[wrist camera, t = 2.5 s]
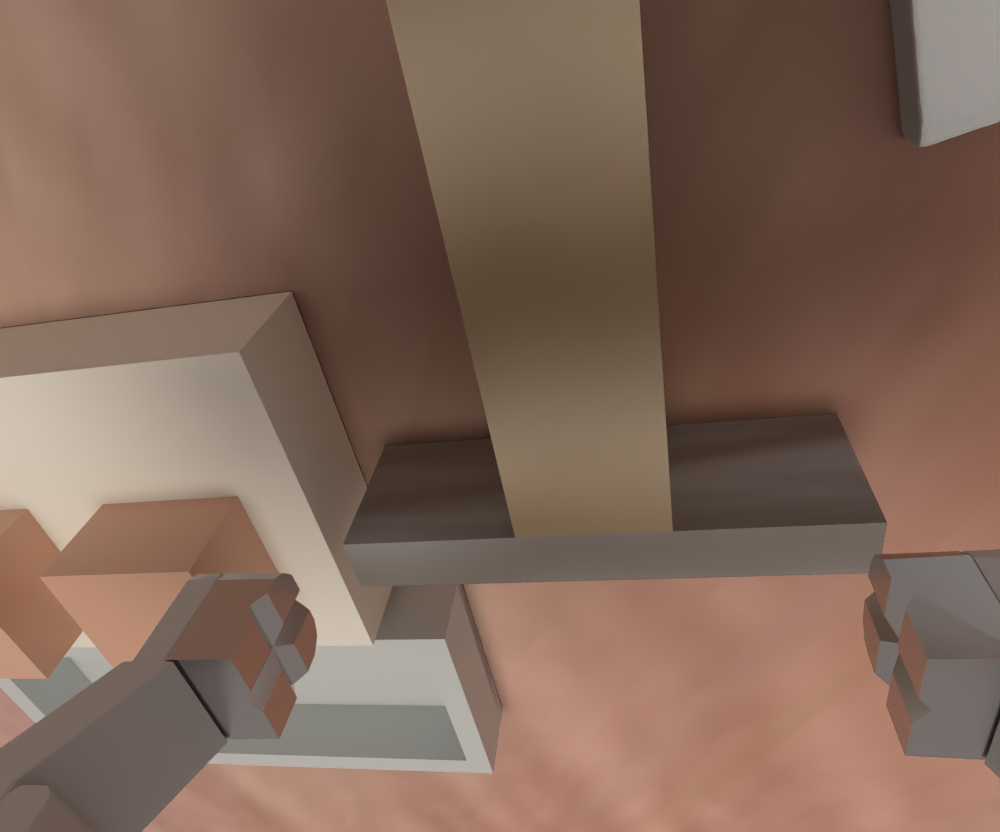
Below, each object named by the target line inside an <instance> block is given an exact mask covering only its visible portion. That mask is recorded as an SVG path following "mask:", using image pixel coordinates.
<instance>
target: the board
mask: <svg viewBox="0 0 1000 832" xmlns="http://www.w3.org/2000/svg"><path fill="white" fill-rule="evenodd" d="M366 489H367V486H366V483H365V480H364V478H363V475H362V473H361V470H360V467H359V465H358V462H357V460H356V457H355V455H354V452H353V449H352V447H351V444H350V442H349V439H348V436H347V434H346V431H345V429H344V426H343V423H342V421H341V418H340V416H339V413H338V411H337V408H336V405H335V403H334V400H333V398H332V395H331V392H330V390H329V387H328V385H327V382H326V379H325V377H324V374H323V372H322V369H321V366H320V364H319V361H318V359H317V356H316V354H315V351H314V348H313V346H312V343H311V341H310V338H309V335H308V333H307V330H306V328H305V325H304V322H303V320H302V317H301V315H300V312H299V310H298V307H297V304H296V302H295V299H294V297H293V294H292V292H284V293H276V294H268V295H260V296H253V297H245V298H237V299H229V300H221V301H213V302H205V303H198V304H190V305H182V306H174V307H166V308H158V309H150V310H143V311H135V312H127V313H119V314H111V315H103V316H96V317H88V318H80V319H72V320H64V321H56V322H48V323H41V324H33V325H25V326H17V327H9V328H1V329H0V510H13V509H28V510H29V511H30V513H31V514H32V515H33V517H34V518H35V519H36V521H37V522H38V523H39V524H40V526H41V527H42V528H43V530H44V531H45V532H46V534H47V535H48V536H49V538H50V539H51V540H52V541H53V543H54V544H55V545H56V547H57V548H58V549H59V551H60V552H61V551H62V550H63V549H64V548H65V547H66V545H67V544H68V543H69V542H70V541H71V540H72V539H73V537H74V536H75V535H76V534H77V533H78V532H79V531H80V529H81V528H82V527H83V526H84V525H85V524H86V523H87V521H88V520H89V519H90V518H91V517H92V516H93V515H94V513H95V512H96V511H97V510H98V509H99V508H100V507H101V505H102V504H115V503H132V502H149V501H166V500H183V499H200V498H217V497H234V496H238V497H239V499H240V501H241V503H242V505H243V507H244V509H245V511H246V513H247V514H248V516H249V518H250V520H251V522H252V524H253V526H254V528H255V530H256V531H257V533H258V535H259V537H260V539H261V541H262V543H263V545H264V547H265V548H266V550H267V552H268V554H269V556H270V558H271V560H272V562H273V564H274V565H275V567H276V569H277V571H278V573H285V574H291V575H292V576H293V578H294V580H295V582H296V583H297V585H298V587H299V589H300V591H299V593H298V596H297V598H296V600H297V601H298V602H299V603H301V604H302V605H304V606H305V607H306V608H308V609H309V610H310V612H311V614H312V616H313V618H314V620H315V625H316V631H317V642H316V646H369V645H373V644H374V641H375V638H376V635H377V632H378V629H379V626H380V623H381V620H382V617H383V614H384V611H385V608H386V605H387V602H388V599H389V596H390V593H391V590H392V587H393V586H370V587H361V585H360V583H359V581H358V579H357V576H356V574H355V572H354V570H353V567H352V565H351V563H350V560H349V558H348V556H347V554H346V551H345V549H344V547H343V543H344V540H345V538H346V536H347V533H348V531H349V529H350V526H351V524H352V522H353V520H354V517H355V515H356V513H357V510H358V508H359V506H360V503H361V501H362V499H363V496H364V494H365V492H366ZM76 647H96V646H95V645H94V644H93V642H92V641H91V640H90V639H89V638H88V636H87V635H86V634H85V633H84V631H83V632H82V633H81V634H80V636H79V637H78V638H77V640H76V641H75V642H74V644H73V645H72V647H71V648H76Z"/></svg>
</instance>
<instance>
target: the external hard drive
mask: <svg viewBox="0 0 1000 832" xmlns="http://www.w3.org/2000/svg"><path fill="white" fill-rule="evenodd" d="M890 11H891V21H892V31H893V42H894V53H895V64H896V74H897V85H898V96H899V107H900V120H901V127H902V134H903V135H904V137H905V139H907V140H909V141H911V142H913V143H914V144H916V145H917V146H918V147H926V146H930V145H933V144H936V143H939V142H941V141H944V140H947V139H950V138H953V137H956V136H959V135H962V134H965V133H967V132H970V131H973V130H976V129H979V128H982V127H986V126H989V125H992V124H995V123H998V122H1000V0H890Z"/></svg>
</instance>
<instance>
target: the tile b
mask: <svg viewBox="0 0 1000 832" xmlns="http://www.w3.org/2000/svg"><path fill="white" fill-rule="evenodd" d="M226 573H278V571H277V569H276V567H275V565H274V564H273V562H272V560H271V558H270V556H269V554H268V552H267V550H266V548H265V547H264V545H263V543H262V541H261V539H260V537H259V535H258V533H257V531H256V530H255V528H254V526H253V524H252V522H251V520H250V518H249V516H248V514H247V513H246V511H245V509H244V507H243V505H242V503H241V501H240V499H239V497H238V496H234V497H217V498H200V499H183V500H166V501H149V502H132V503H115V504H102V505H101V507H100V508H99V509H98V510H97V511H96V512H95V513H94V515H93V516H92V517H91V518H90V519H89V520H88V521H87V523H86V524H85V525H84V526H83V527H82V528H81V529H80V531H79V532H78V533H77V534H76V535H75V536H74V537H73V539H72V540H71V541H70V542H69V543H68V544H67V545H66V547H65V548H64V549H63V550H62V551H61V552H60V553H59V555H58V556H57V557H56V558H55V559H54V560H53V561H52V563H51V564H50V565H49V566H48V567H47V568H46V569H45V570H44V572H43V573H42V574H41V575H40V576H39V577H40V579H41V580H42V581H43V582H44V584H45V585H46V586H47V587H48V588H49V590H50V591H51V592H52V593H53V595H54V596H55V597H56V598H57V599H58V601H59V602H60V603H61V604H62V606H63V607H64V608H65V609H66V611H67V612H68V613H69V614H70V615H71V617H72V618H73V619H74V620H75V622H76V623H77V624H78V625H79V627H80V628H81V629H82V630H83V631H84V633H85V634H86V635H87V636H88V638H89V639H90V640H91V641H92V642H93V644H94V645H95V646H96V647H97V649H98V650H99V651H100V652H101V654H102V655H103V656H104V657H105V658H106V660H107V661H108V662H109V663H110V665H111V666H112V667H113V668H115V667H116V666H118V665H119V664H120V663H122V662H124V661H133V660H134V658H135V657H136V655H137V654H138V652H139V651H140V649H141V648H142V646H143V645H144V643H145V642H146V641H147V639H148V638H149V636H150V635H151V633H152V632H153V630H154V629H155V627H156V626H157V624H158V623H159V622H160V620H161V619H162V617H163V616H164V614H165V613H166V611H167V610H168V608H169V607H170V605H171V604H172V603H173V601H174V600H175V598H176V597H177V595H178V594H179V592H180V591H181V589H182V588H183V586H184V585H185V584H186V582H187V581H188V580H189V579H191V578H192V577H194V576H195V575H197V574H226Z"/></svg>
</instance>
